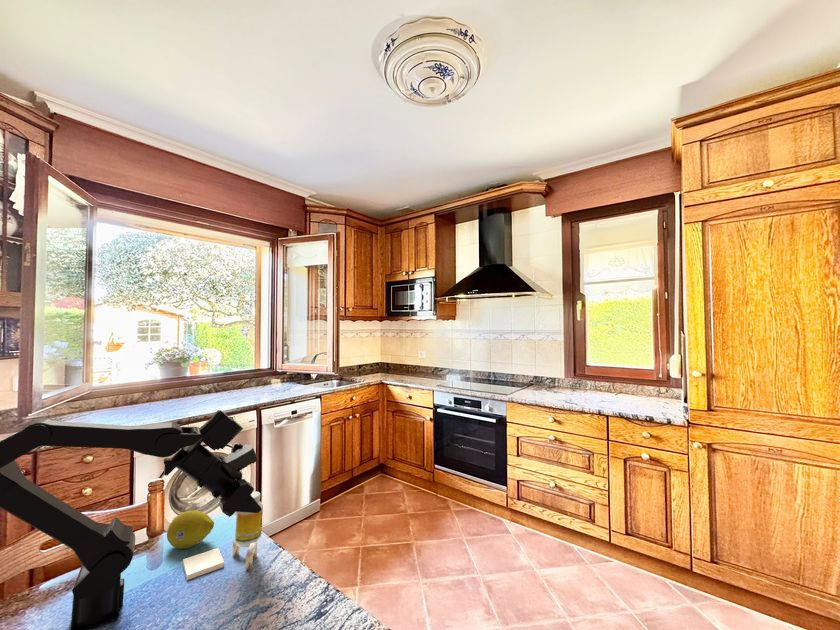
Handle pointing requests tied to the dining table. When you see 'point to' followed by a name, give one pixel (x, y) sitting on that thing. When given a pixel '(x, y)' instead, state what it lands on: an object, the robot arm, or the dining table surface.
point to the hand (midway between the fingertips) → (256, 506)
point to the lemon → (189, 529)
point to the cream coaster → (202, 563)
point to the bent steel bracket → (250, 553)
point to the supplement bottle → (249, 524)
